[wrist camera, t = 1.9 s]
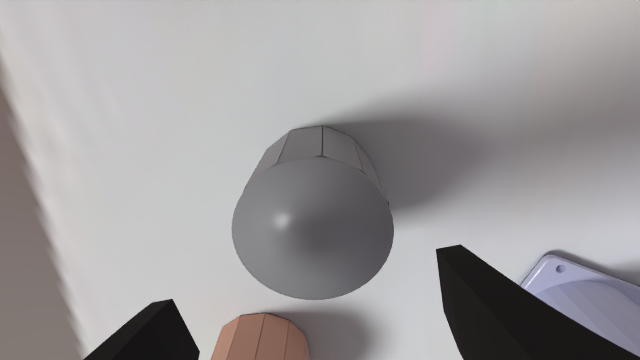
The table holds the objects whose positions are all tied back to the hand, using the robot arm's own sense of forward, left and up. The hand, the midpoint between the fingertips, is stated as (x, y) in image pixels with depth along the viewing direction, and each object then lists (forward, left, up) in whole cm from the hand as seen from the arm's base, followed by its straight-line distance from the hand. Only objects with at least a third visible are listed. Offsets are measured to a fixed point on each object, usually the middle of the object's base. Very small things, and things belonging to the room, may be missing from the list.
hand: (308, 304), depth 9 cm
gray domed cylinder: (0, 0, -8) cm, 8 cm away
